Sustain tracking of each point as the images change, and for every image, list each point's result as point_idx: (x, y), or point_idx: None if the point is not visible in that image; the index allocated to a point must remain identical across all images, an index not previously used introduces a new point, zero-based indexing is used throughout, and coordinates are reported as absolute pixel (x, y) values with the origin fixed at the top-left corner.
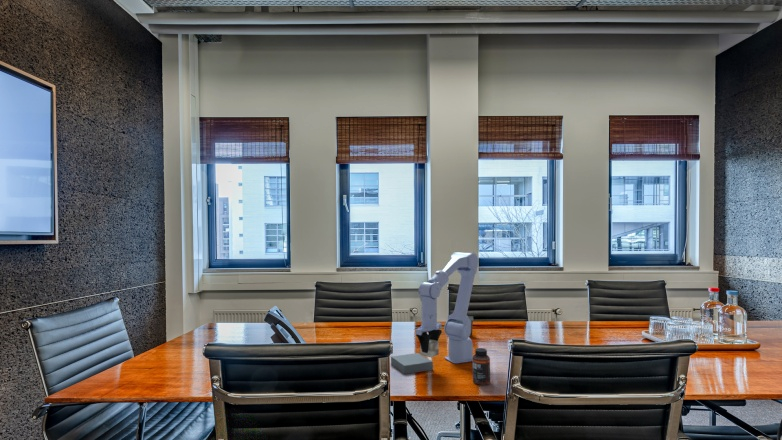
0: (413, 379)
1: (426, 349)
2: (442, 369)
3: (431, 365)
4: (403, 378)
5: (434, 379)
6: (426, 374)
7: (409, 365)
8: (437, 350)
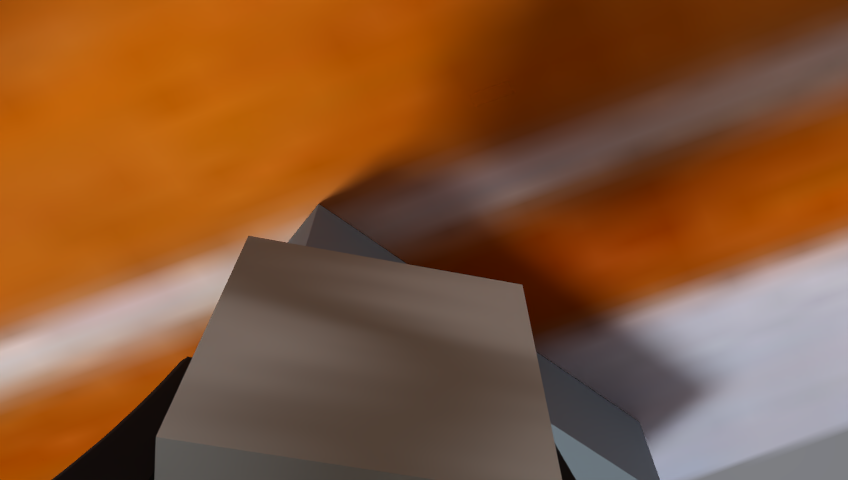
0: (786, 278)
1: (561, 471)
2: (227, 86)
3: (328, 246)
4: (785, 380)
5: (700, 39)
6: (543, 209)
7: (611, 458)
8: (276, 295)
